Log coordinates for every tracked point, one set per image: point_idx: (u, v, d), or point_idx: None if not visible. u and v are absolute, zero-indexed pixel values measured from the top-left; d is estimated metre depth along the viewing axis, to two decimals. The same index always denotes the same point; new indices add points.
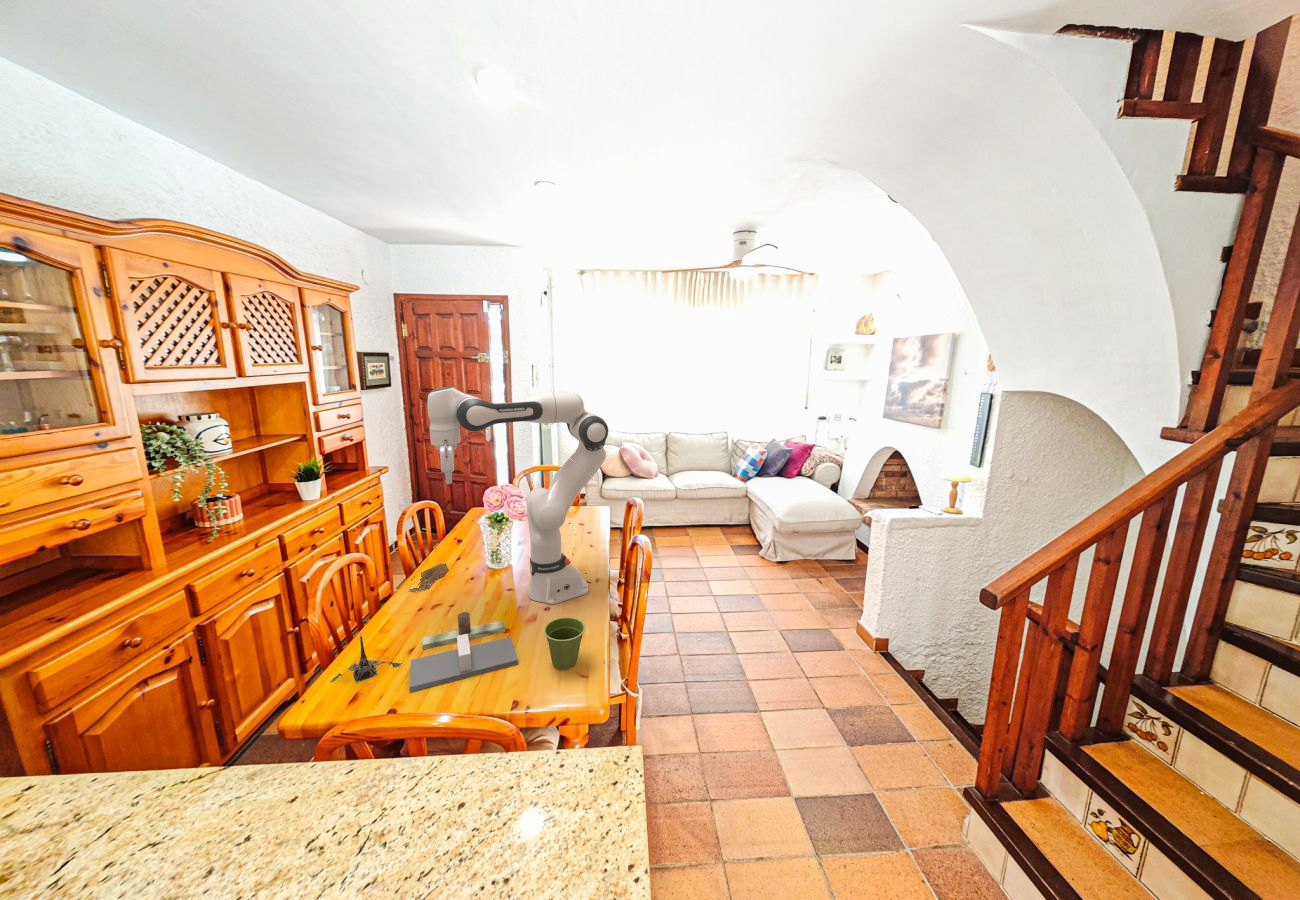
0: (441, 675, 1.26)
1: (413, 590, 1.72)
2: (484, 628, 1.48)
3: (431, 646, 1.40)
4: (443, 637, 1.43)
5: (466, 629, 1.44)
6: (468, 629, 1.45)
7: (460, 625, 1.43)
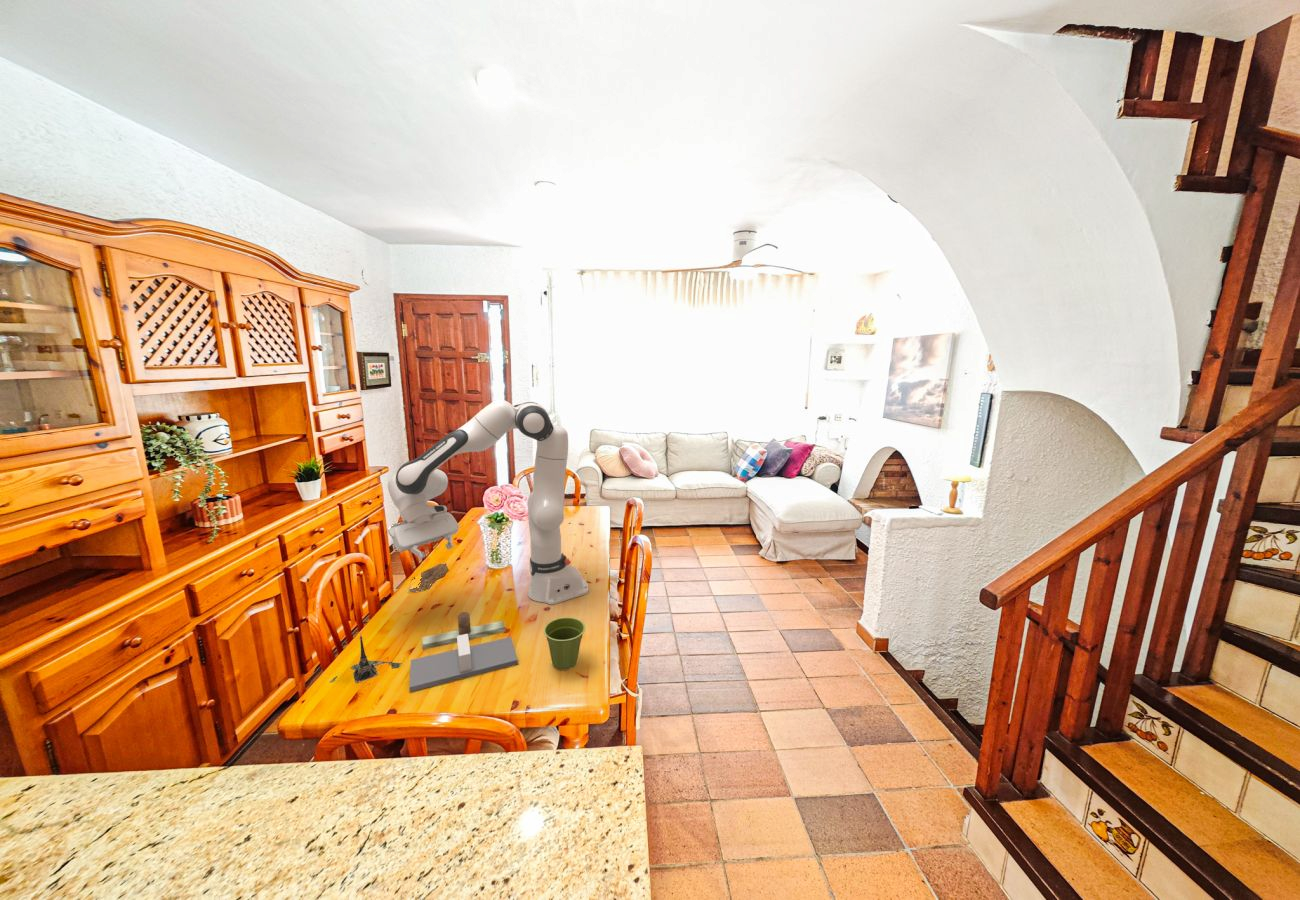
0: (441, 675, 1.26)
1: (413, 590, 1.72)
2: (484, 628, 1.48)
3: (431, 646, 1.40)
4: (443, 637, 1.43)
5: (466, 629, 1.44)
6: (469, 629, 1.45)
7: (460, 625, 1.43)
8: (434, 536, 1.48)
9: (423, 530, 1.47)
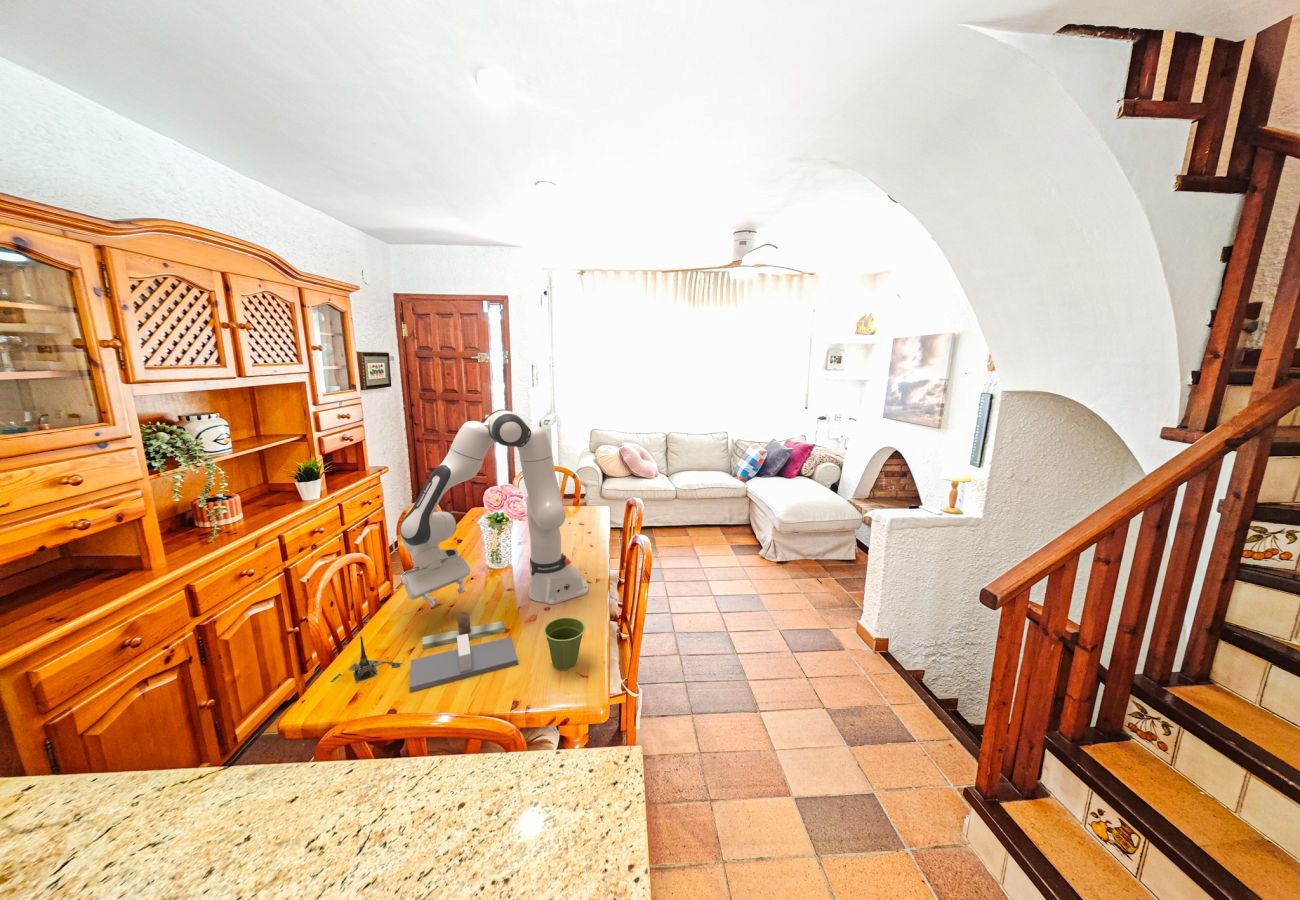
0: (441, 675, 1.26)
1: None
2: (484, 628, 1.48)
3: (431, 646, 1.40)
4: (443, 637, 1.43)
5: (466, 629, 1.44)
6: (468, 629, 1.45)
7: (460, 625, 1.43)
8: (446, 582, 1.49)
9: (435, 576, 1.48)
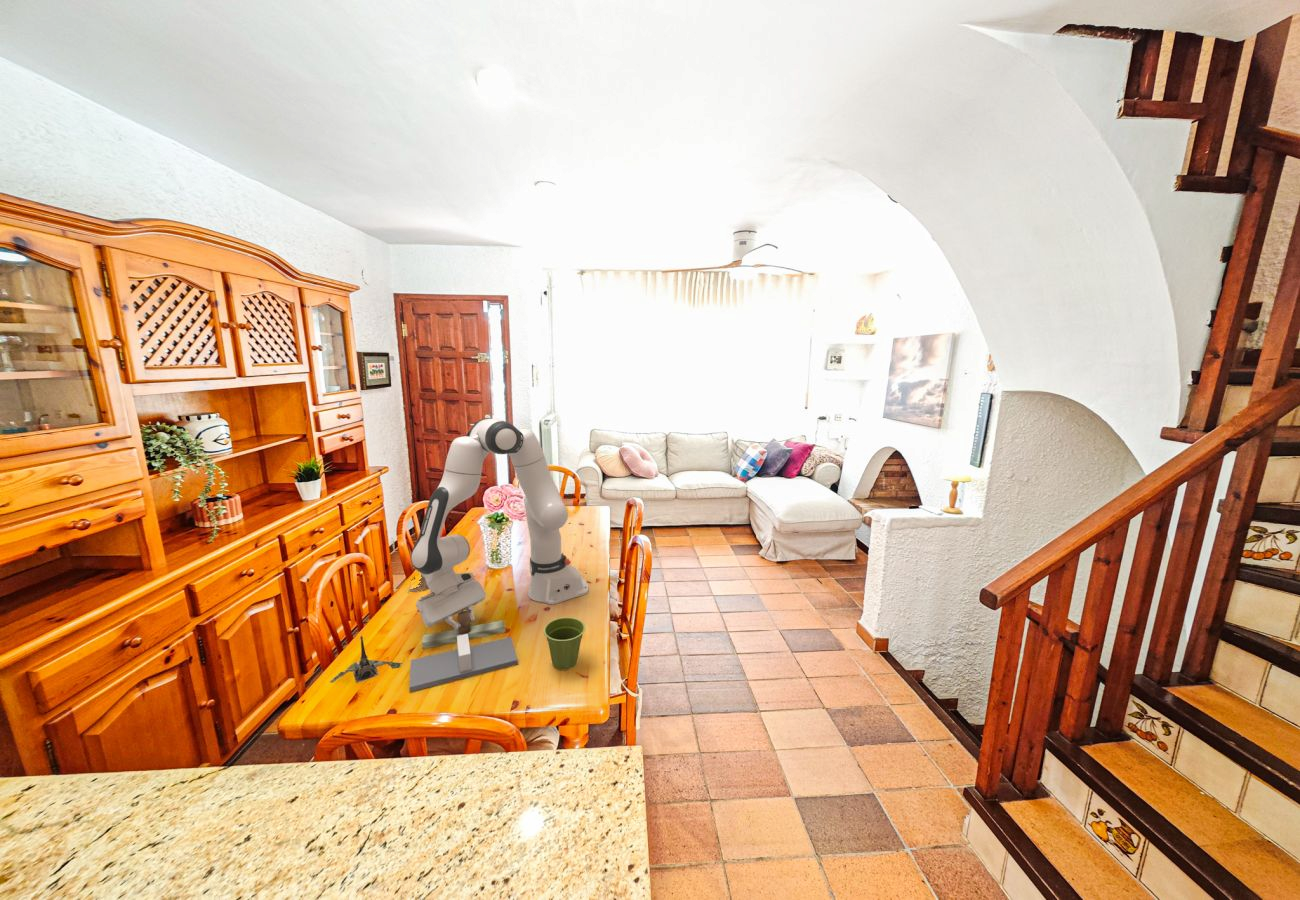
0: (441, 675, 1.26)
1: (413, 590, 1.72)
2: (484, 627, 1.47)
3: (431, 644, 1.40)
4: (443, 636, 1.43)
5: (466, 628, 1.44)
6: (468, 628, 1.44)
7: None
8: (462, 607, 1.46)
9: (451, 602, 1.44)
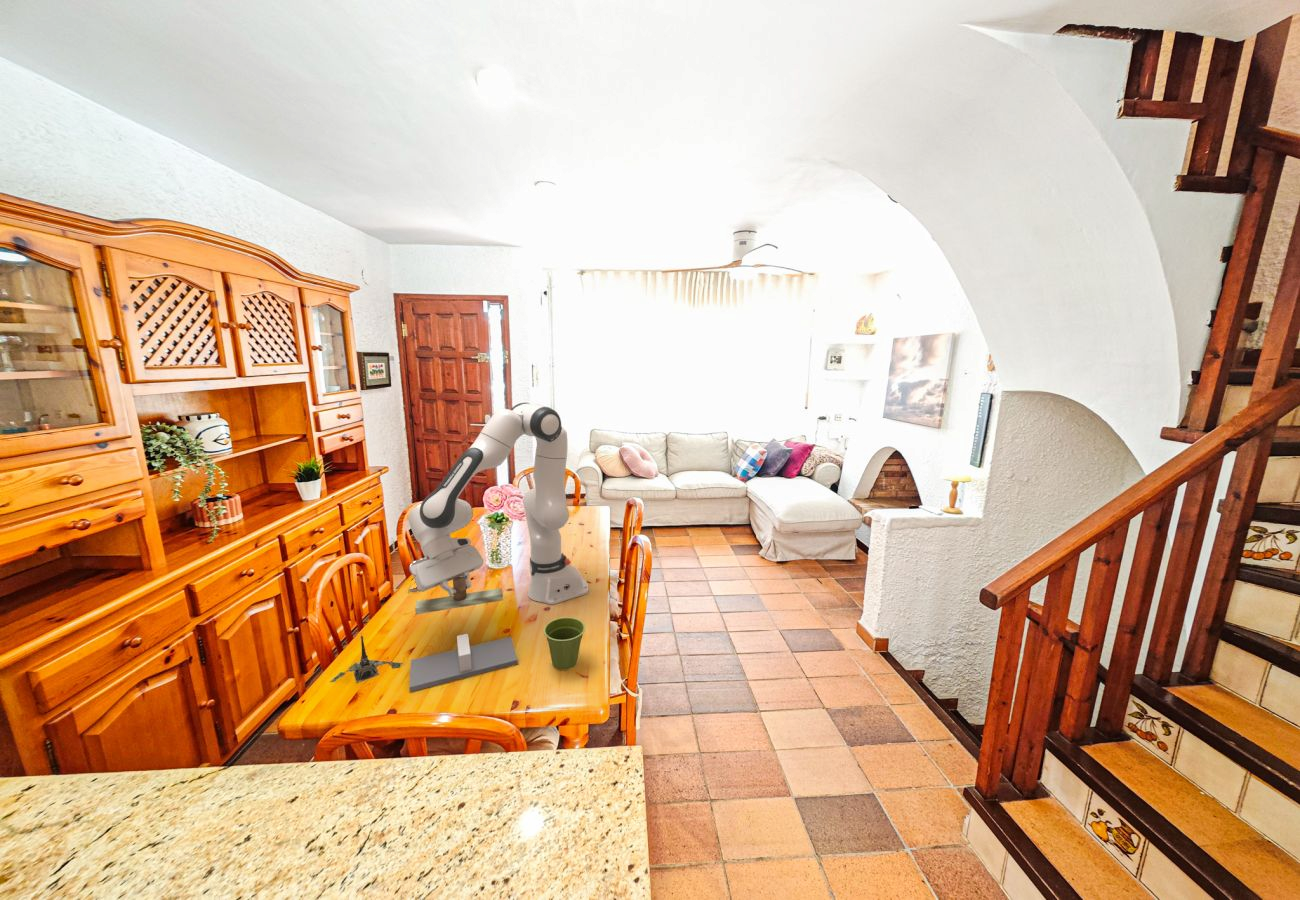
0: (441, 675, 1.26)
1: (413, 590, 1.72)
2: (481, 595, 1.40)
3: (424, 610, 1.33)
4: (437, 602, 1.35)
5: (462, 594, 1.36)
6: (464, 594, 1.37)
7: None
8: (458, 573, 1.38)
9: (446, 566, 1.37)
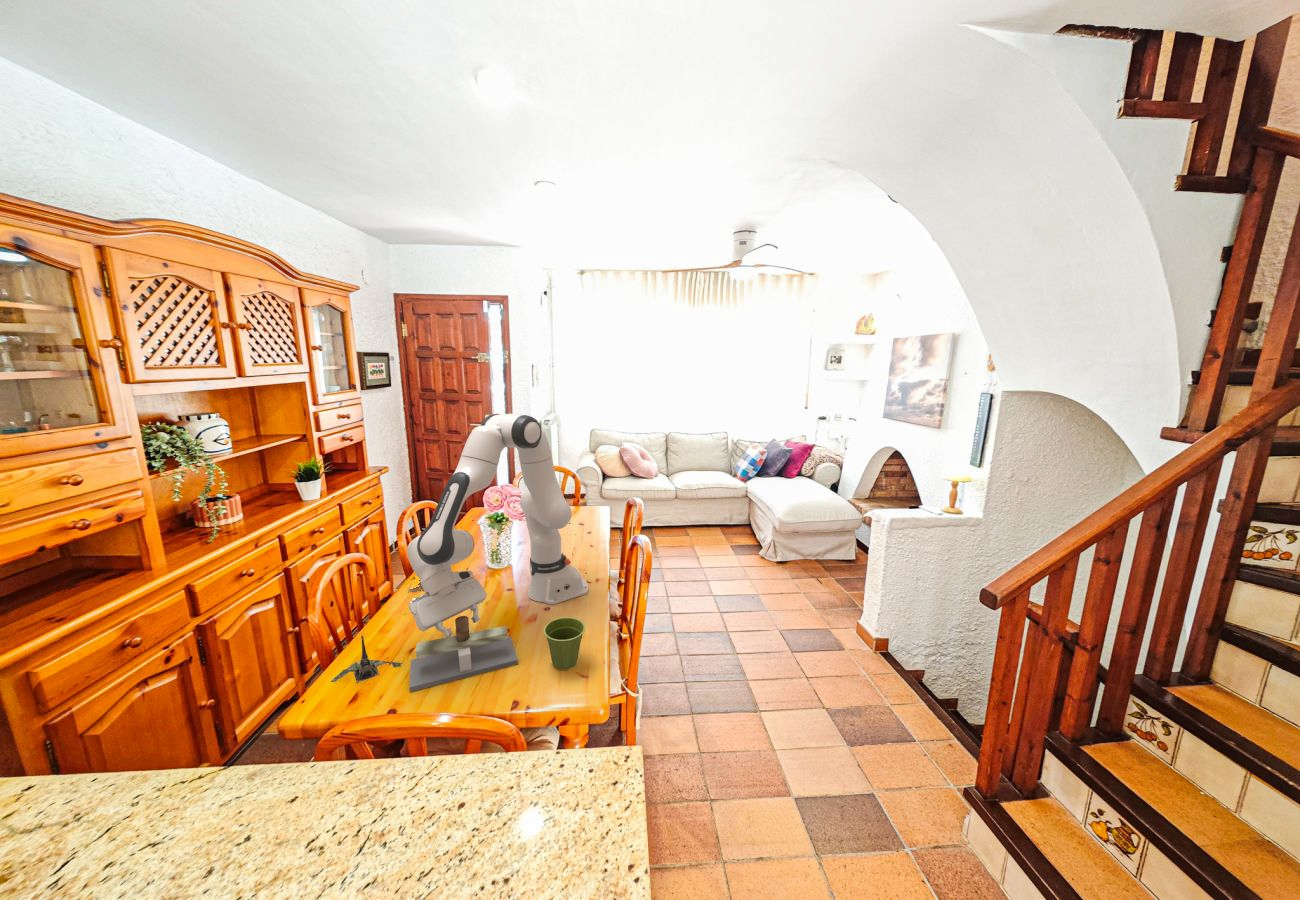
0: (441, 675, 1.26)
1: (413, 590, 1.72)
2: (484, 634, 1.33)
3: (425, 653, 1.26)
4: (439, 643, 1.29)
5: (465, 635, 1.30)
6: (467, 635, 1.30)
7: (458, 631, 1.29)
8: (460, 609, 1.31)
9: (448, 603, 1.30)
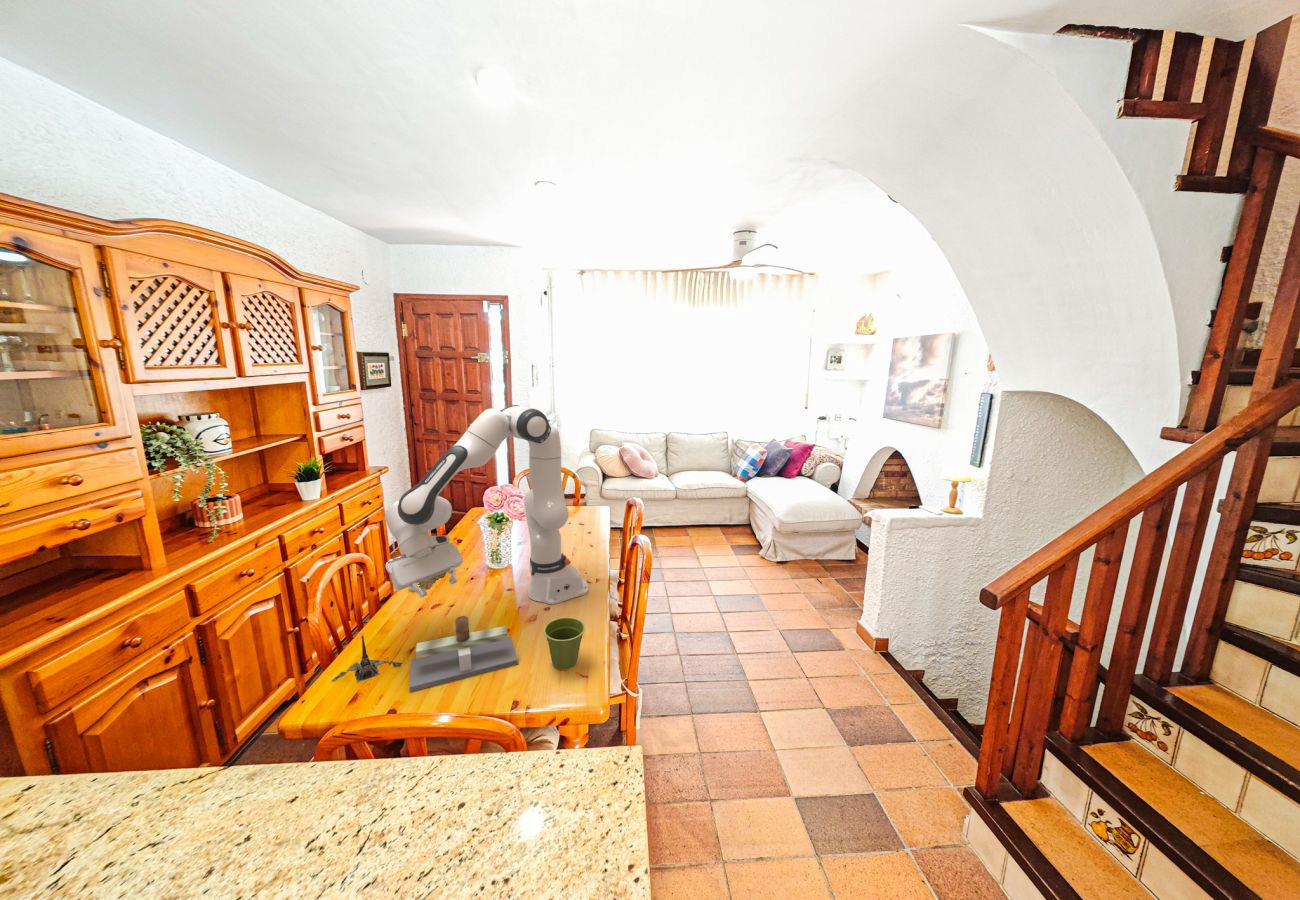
0: (441, 675, 1.26)
1: None
2: (484, 634, 1.33)
3: (425, 653, 1.26)
4: (439, 643, 1.29)
5: (465, 635, 1.30)
6: (467, 635, 1.30)
7: (458, 631, 1.29)
8: (436, 571, 1.35)
9: (424, 564, 1.34)
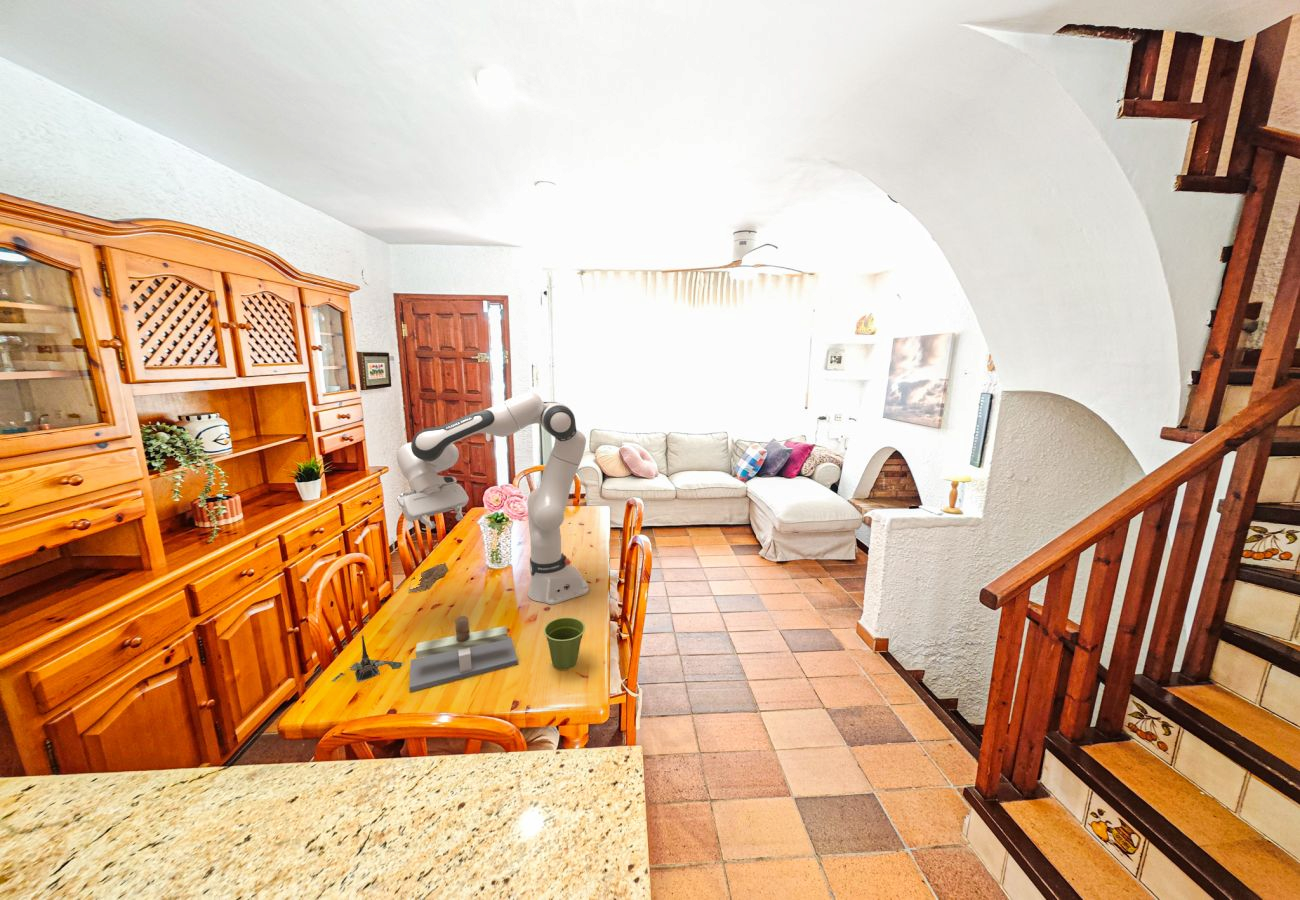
0: (441, 675, 1.26)
1: (413, 590, 1.72)
2: (484, 634, 1.33)
3: (425, 653, 1.26)
4: (439, 643, 1.29)
5: (465, 635, 1.30)
6: (467, 635, 1.30)
7: (458, 631, 1.29)
8: (444, 506, 1.46)
9: (433, 500, 1.44)
